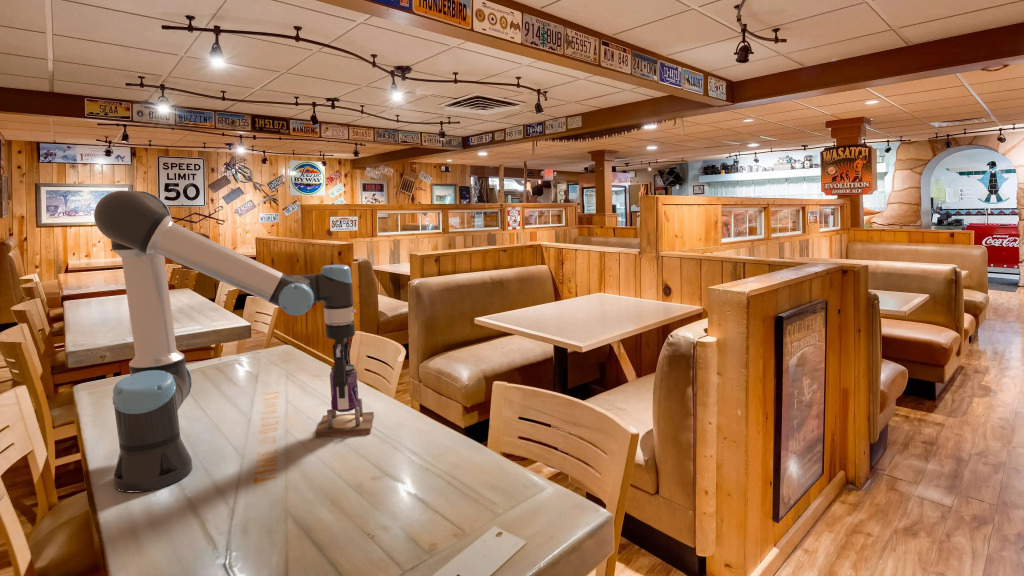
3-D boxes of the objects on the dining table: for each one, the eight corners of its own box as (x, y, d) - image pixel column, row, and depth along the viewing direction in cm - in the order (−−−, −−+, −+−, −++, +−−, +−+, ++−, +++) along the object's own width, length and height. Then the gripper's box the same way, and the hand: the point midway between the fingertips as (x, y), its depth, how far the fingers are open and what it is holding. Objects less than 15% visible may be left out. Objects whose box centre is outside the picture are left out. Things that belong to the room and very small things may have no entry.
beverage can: (351, 414, 150) (348, 371, 149) (327, 412, 152) (324, 370, 150) (363, 405, 157) (360, 363, 155) (340, 403, 159) (337, 362, 157)
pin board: (370, 433, 151) (369, 410, 150) (316, 437, 148) (314, 414, 147) (373, 416, 162) (372, 395, 161) (323, 420, 160) (322, 398, 159)
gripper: (349, 329, 142) (355, 416, 145) (358, 314, 161) (362, 390, 165) (319, 331, 140) (325, 418, 144) (330, 315, 160) (336, 392, 163)
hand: (345, 403), depth 154 cm, fingers closed on beverage can, 7 cm apart
